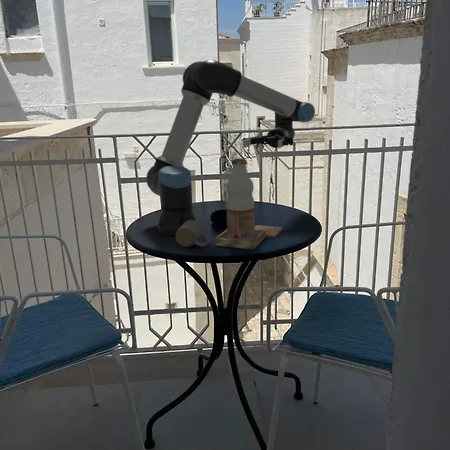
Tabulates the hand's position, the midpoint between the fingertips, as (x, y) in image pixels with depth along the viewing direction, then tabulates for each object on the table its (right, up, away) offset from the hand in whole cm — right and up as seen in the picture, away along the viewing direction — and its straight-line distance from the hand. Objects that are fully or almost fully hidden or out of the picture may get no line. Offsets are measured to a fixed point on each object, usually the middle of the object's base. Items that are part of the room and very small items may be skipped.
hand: (261, 144), depth 169 cm
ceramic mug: (-24, -37, -14) cm, 46 cm away
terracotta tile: (+1, -33, -3) cm, 33 cm away
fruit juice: (-8, -36, -12) cm, 38 cm away
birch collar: (-8, -35, -12) cm, 38 cm away
